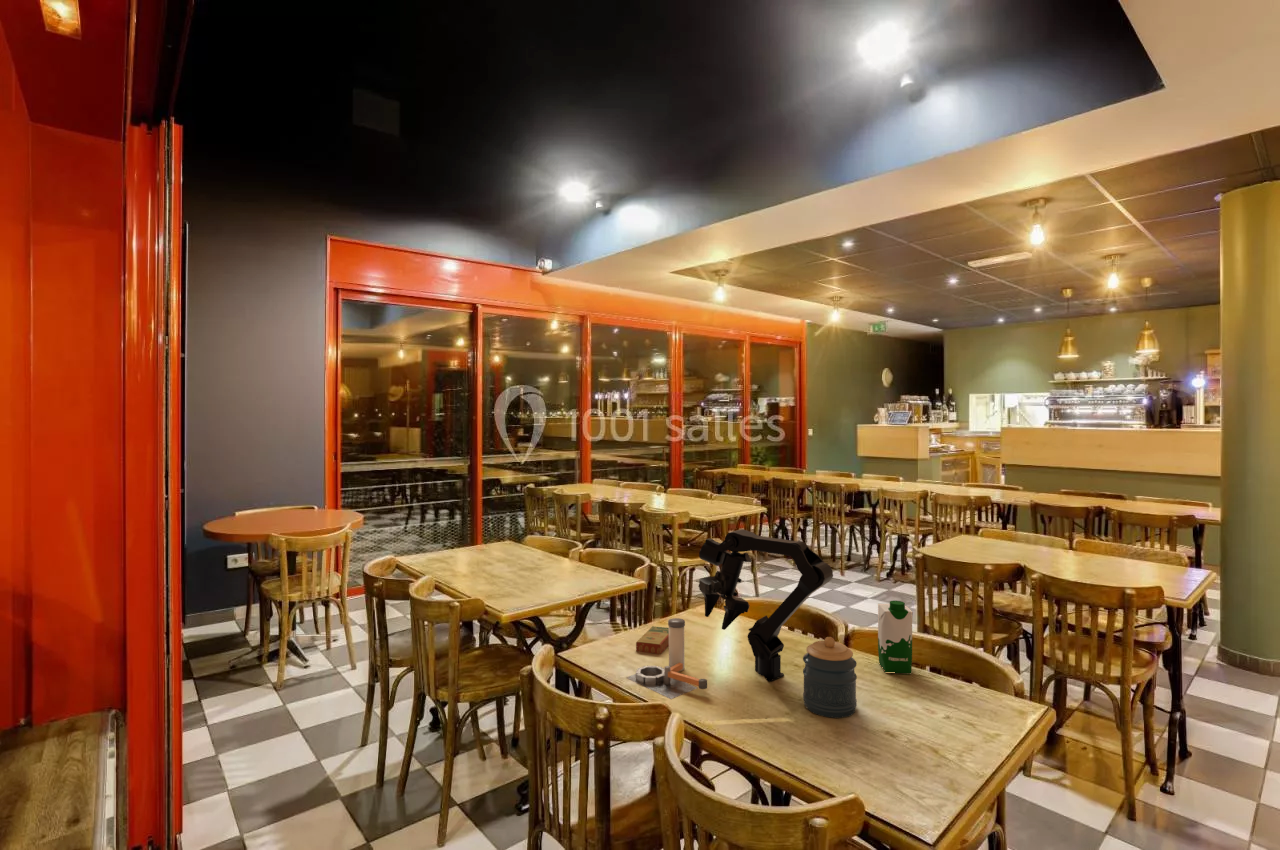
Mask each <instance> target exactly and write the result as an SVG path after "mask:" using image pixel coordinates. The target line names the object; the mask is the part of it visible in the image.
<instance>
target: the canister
mask: <svg viewBox="0 0 1280 850" xmlns="http://www.w3.org/2000/svg"><path fill="white" fill-rule="evenodd" d="M805 650H806V653H805V654H804V655H803V656H802V661H803V662H804V667H803V670H802V674H803V694H802V700H803V705H804V707H805V708H806V709H807V710H808V711H810V712H811V713H813V714H816V715H818V716H821V717H826V718H836V719H839V718H841V719H842V718H847V717H849V716H852V715H854V714H855V712H856V709H857V704H858V703H857V702H858V701H857V678H858V677H857V673H856V672H855V669H856V668H857V665H858V662H857V660H856V659H855V658H854V657H853V656H854V652H853V651H852V649H851V648H849V647H847V646H846V644H843V643H841V642H839V641H835V639H834V638H833V637H832V636H827V637H825V638H824V640H817V641H814V642H812V644H809V645H807V647H806V649H805Z"/></svg>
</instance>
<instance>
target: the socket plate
mask: <svg viewBox="0 0 1280 850" xmlns="http://www.w3.org/2000/svg"><path fill="white" fill-rule="evenodd" d="M625 678H626V679H628V680H630V681H632V682H634V683H636V684H638V685H641V686H642V687H645V688H646V689H649V690H650V691H653V692H655V693H657V694H659V695H661V696H663V697H666V698H667V699H670V700H673V699H675V698H677V697H679V696H682V695H684V694H687V693H690V692H692V691H694V690H697V689H698V686H696V685H692V684H689V683H686V682H683V681H679V680H676V679H673V678H670V684H669V685H667V684H665V667H662V666H661V665H660V666H659V665H658V666H657V665H643V666H641V667H640V666H639V667H637V669H636V670H635V674H632V675H629V676H626V677H625Z"/></svg>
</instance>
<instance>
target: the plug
mask: <svg viewBox="0 0 1280 850" xmlns="http://www.w3.org/2000/svg"><path fill="white" fill-rule="evenodd" d="M667 624H668V628H669V647H668V666H670V667H672V666H674V665H676V664H678V663H682V664H683V669H681V670H680V671H678V672H677V673H680V672H683V671H684V670H685V667H686V666H685V626H686V621H685V619H683V618H679V617H678V618H677V617H673V618H670V619H668V620H667Z"/></svg>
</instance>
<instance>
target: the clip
mask: <svg viewBox="0 0 1280 850" xmlns="http://www.w3.org/2000/svg"><path fill="white" fill-rule="evenodd" d="M664 669H665V684H667V685H669V684H670V678H673V679H676V680H679V681H683V682H686V683H688V684H690V685H692V686H695V687H698V688H699V690H706V689H708V679H706V678H697V677H693V676H690V675H686V674H683V673H680V672H681V671H680V670H681V669H683V664H682V663H678V664H676V665H674V666H672V667H670V666H669V665H665V666H664ZM678 671H679V672H678Z"/></svg>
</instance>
